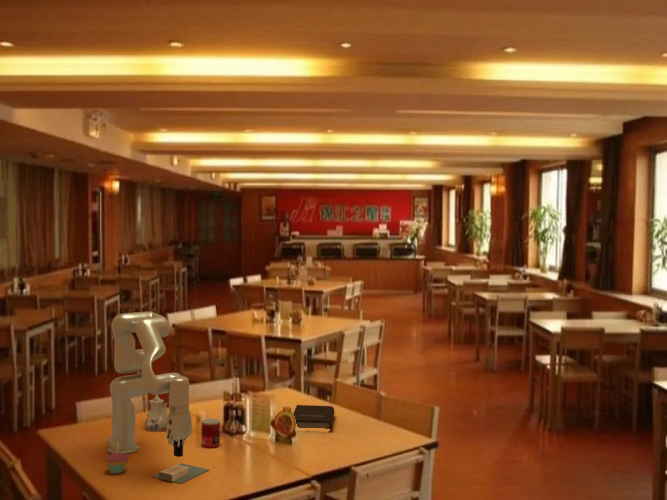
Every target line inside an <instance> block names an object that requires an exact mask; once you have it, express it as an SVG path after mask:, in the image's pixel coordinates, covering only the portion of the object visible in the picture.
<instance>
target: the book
mask: <svg viewBox="0 0 667 500" xmlns="http://www.w3.org/2000/svg"><path fill="white" fill-rule="evenodd" d="M335 413H336V412H335V408H334V406H332V405H315V404H314V405H311V404H310V405H309V404H296V406H295V409H294V411H293V414H294V416H295V419H296V424H297V427H299V428H325V429H331V430H332V427H333V423H334V416H335ZM293 414H292V415H293Z"/></svg>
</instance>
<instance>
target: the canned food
mask: <svg viewBox="0 0 667 500" xmlns="http://www.w3.org/2000/svg"><path fill="white" fill-rule="evenodd" d="M220 442H221V420H220V419H218V418H205V419H203V420H202V421H201V446H202V448H205V449H215V448H218V447H220Z"/></svg>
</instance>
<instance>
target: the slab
mask: <svg viewBox="0 0 667 500" xmlns="http://www.w3.org/2000/svg"><path fill="white" fill-rule="evenodd" d="M187 474H189V467H186V466H181V465H179V464H175V465H173V466H170V467H168V468H165V469H163V470H161V471H159V478H158V479H159V480H162V481H167V482H171V483H173V482H172V481H175V480H177V479H179V478H181V477H183V476H185V475H187Z"/></svg>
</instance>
